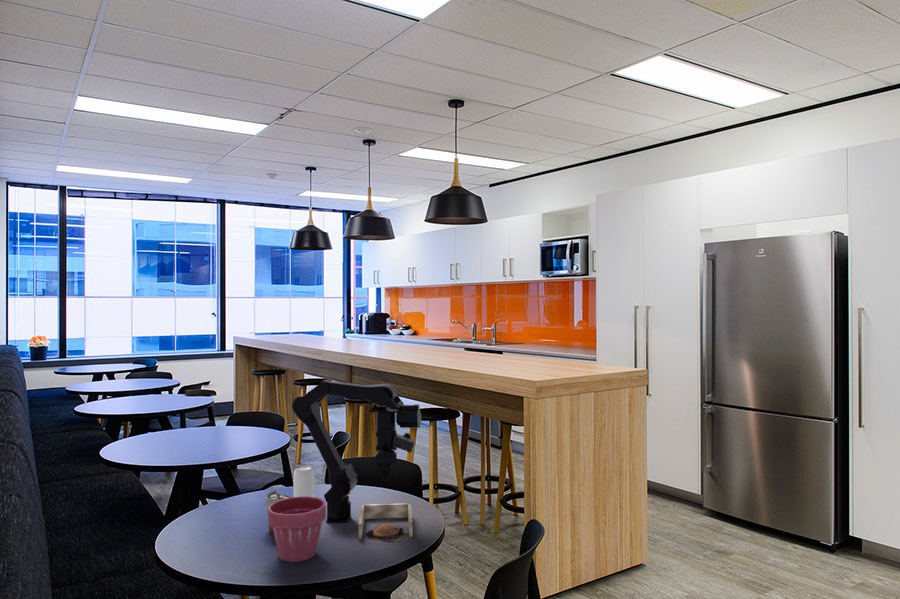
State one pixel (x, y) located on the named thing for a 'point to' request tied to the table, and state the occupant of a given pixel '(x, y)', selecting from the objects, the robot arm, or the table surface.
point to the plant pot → (297, 526)
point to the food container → (271, 499)
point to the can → (304, 481)
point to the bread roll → (387, 532)
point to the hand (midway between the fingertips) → (386, 480)
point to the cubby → (385, 513)
